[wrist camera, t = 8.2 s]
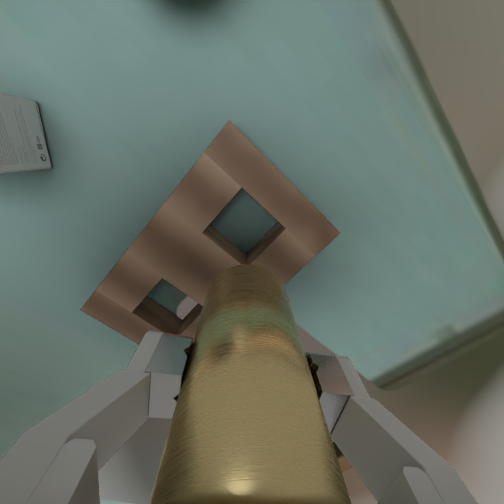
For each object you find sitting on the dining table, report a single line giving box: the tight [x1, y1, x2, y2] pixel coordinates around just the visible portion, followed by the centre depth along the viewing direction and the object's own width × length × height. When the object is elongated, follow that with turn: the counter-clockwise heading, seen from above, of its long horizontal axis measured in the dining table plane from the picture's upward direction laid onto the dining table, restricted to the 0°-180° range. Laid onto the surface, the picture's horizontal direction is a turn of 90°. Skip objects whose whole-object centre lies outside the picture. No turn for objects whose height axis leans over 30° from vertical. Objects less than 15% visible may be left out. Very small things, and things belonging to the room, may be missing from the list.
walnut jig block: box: [80, 121, 340, 345], centre depth 26 cm, size 24×14×4 cm, turn 137°
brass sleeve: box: [149, 264, 351, 504], centre depth 8 cm, size 4×4×8 cm
